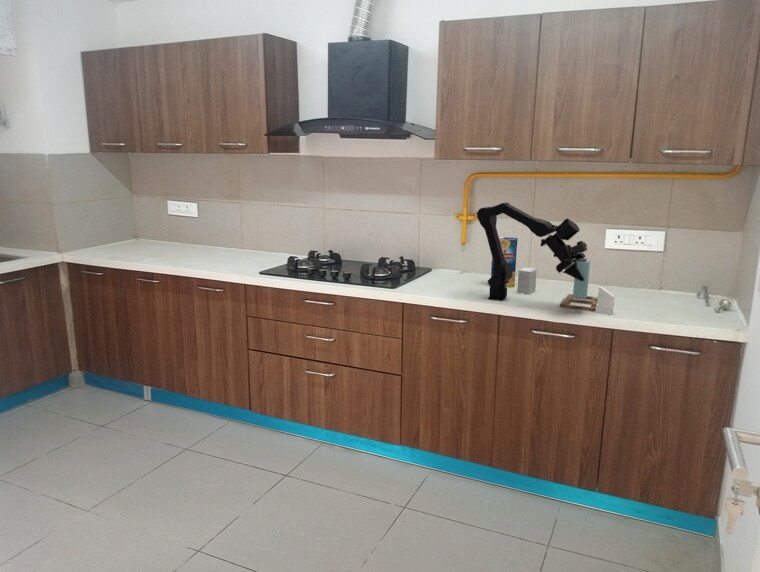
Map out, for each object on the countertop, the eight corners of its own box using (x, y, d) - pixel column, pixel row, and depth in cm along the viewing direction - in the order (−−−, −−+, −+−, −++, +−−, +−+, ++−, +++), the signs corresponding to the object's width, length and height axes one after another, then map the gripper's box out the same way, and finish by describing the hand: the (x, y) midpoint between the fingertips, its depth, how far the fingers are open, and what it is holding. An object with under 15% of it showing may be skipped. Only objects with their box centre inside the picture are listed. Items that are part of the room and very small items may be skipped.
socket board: (559, 307, 232) (559, 302, 232) (568, 296, 249) (568, 292, 248) (596, 311, 226) (596, 307, 226) (602, 300, 242) (603, 296, 242)
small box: (523, 289, 261) (524, 266, 258) (535, 291, 258) (537, 268, 255) (516, 293, 254) (518, 269, 252) (529, 295, 251) (530, 271, 249)
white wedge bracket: (586, 302, 229) (600, 285, 225) (608, 318, 226) (622, 301, 222) (584, 304, 227) (597, 287, 222) (606, 320, 223) (620, 303, 219)
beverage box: (491, 282, 273) (493, 236, 268) (514, 284, 271) (517, 237, 266) (490, 286, 267) (492, 239, 262) (514, 287, 264) (517, 240, 259)
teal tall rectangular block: (572, 297, 223) (576, 259, 219) (574, 294, 227) (578, 257, 223) (584, 298, 221) (588, 260, 217) (586, 296, 225) (590, 258, 221)
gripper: (566, 237, 213) (594, 270, 209) (582, 232, 228) (608, 262, 224) (544, 256, 219) (571, 288, 216) (561, 249, 234) (586, 279, 230)
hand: (585, 279), depth 221 cm, fingers closed on teal tall rectangular block, 5 cm apart
